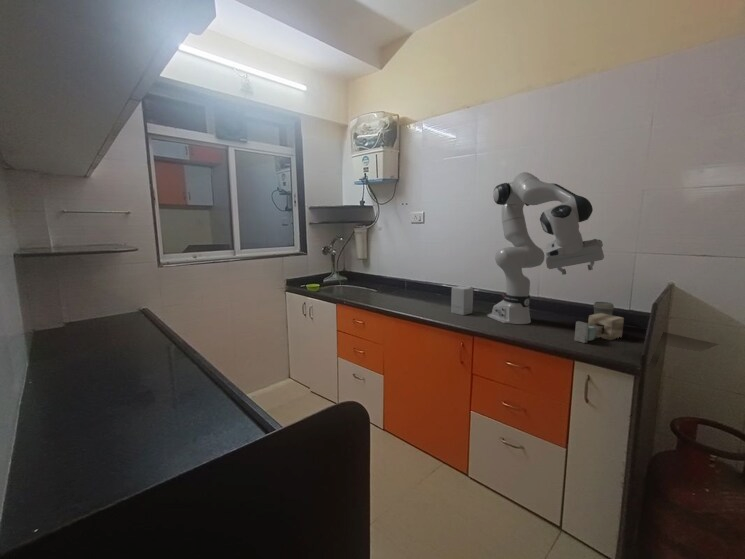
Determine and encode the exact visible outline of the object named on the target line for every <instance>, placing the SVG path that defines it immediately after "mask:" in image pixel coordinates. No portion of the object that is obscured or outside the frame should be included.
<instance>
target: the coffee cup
mask: <svg viewBox="0 0 745 559" xmlns="http://www.w3.org/2000/svg"><path fill="white" fill-rule="evenodd" d="M592 307H593V314H597V313H603V314H608V315H613V312H614V310H615V306H614V303H611V302H607V301H595V302H594V303H593V306H592Z"/></svg>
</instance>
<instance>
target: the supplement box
mask: <svg viewBox="0 0 745 559" xmlns="http://www.w3.org/2000/svg"><path fill="white" fill-rule="evenodd" d="M473 300H474V287H471V286H466V285H464V286H463V285H458V286H453V287H451V300H450V302H451V303H450V304H451V305H450V306H451V308H450V312H451V314H456V315H460V316H465V315H468V314H469V315H470V314H472V313H473V306H474V305H473V303H474V302H473Z"/></svg>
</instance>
